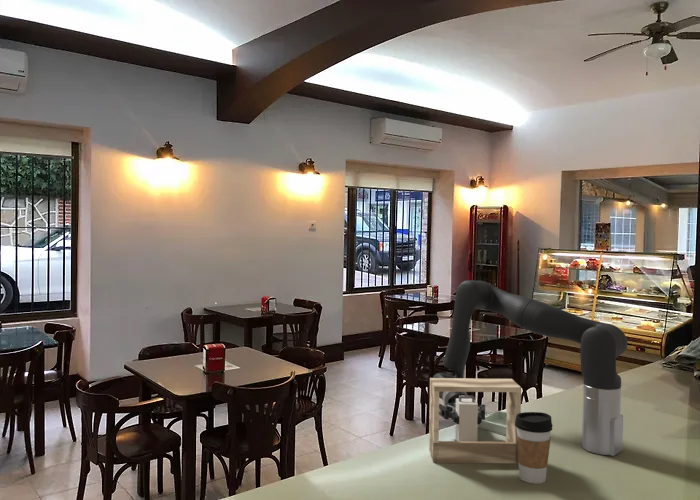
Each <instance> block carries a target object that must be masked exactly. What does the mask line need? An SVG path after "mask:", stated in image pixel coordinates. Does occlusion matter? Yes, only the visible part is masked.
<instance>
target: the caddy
mask: <svg viewBox="0 0 700 500" xmlns="http://www.w3.org/2000/svg"><path fill="white" fill-rule="evenodd" d="M461 398H470V399H461ZM478 407H479V404H478V402H477V401H476V397H475V396H474V395H468V396H459V398H456V412H457V414H458V416H459V424H456V423H455V427H454V428H455V429H454V430H455V431H454V438H455V441H478V424H477V418H478Z"/></svg>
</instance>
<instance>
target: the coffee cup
mask: <svg viewBox="0 0 700 500" xmlns="http://www.w3.org/2000/svg"><path fill="white" fill-rule="evenodd" d="M552 422H553V421H552V415H550V414H548V413H547V412H546V413H545V412H537V411H524V412H521V413H519V414H517V415H516V420H515V426H516V427H517V433H516V438H517V451H518V462H519V463H518V476H519V479H520V480H522V481H523V482H525V483H529V484H534V485H535V484H536V485H537V484H543V483H545V482H546V479H547V472H548V471H547V469H548V464H549V463H548V462H549V457H550V456H549V454H550V448H551V447H550V446H551V445H550V444H551V437H552V436H551V431H553V426H554V425H553V423H552Z"/></svg>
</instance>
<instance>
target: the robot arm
mask: <svg viewBox="0 0 700 500" xmlns="http://www.w3.org/2000/svg"><path fill="white" fill-rule="evenodd" d="M453 307H454V309H453V315H452V321H451V322H452V323H451V330H450V334H449V340H448V343H447V345H446V346H447V347H446V350H445V353H444V357H443V361H442V362H443V363H442V364H443V366H444V367H445V368H446V369H448V370H450V371H452V372H453V373H455V375H451V374H447V373H443V372H438V373H435V374H434V375H433V377H432V378H465V377H464V376H465V375H464V374H465V368H466V363H467V360H468V356H469V352H470V349H471V338H470V335H471V334H470V324H471V320H472V316H473V314H474V311H475V310H484V311H489V312H492V313H496V314H498V315H501V316H503V317H504V318H506V319H508V320H509V321H510V322H511V323H513V324H514V325H516V326H517V327H519V328H521V329H523V330H526V331H528V332H531V333H534V334H536V335H539V336H544V337H549V338H554V339H561V340H568V341H571V342H575V343H578V344H580V347H579V348H580V352H579V353H580V357H579V359H580V373H581V375H582V378H583V379H582V380H583V381H582V382H583V385H582V386H583V387H582V388H583V389H582V391H583V392H582V423H581V424H582V425H581V426H582V428H581V447H582V449H584V450H585V451H588V452H590V453H592V454H597V455H602V456H603V455H605V456H611V457H616V455H618V454H619V453H620V452H622V451H623V444H624V443H623V442H624V441H623V440H624V439H623V438H624V435H623V434H624V415H623V414H621V412H622V411H621V410H622V409H621V408H622V407H621V406H622V401H621V400H622V398H621V397H622V378H621V376H620V375H619V374H618V372H617V358H618V357H619V356H621V355H622V354H623V353H625V351H626V350H627V348H628V338H627V336H626V334H625V332H624V331H623V330H622V329H621V328H619V327H618V326H616V325H614V324H611V323H607V322H601V321H597V320H593V319H590V318H586V317H581V316H579V315H576V314H573V313H571V312H568V311H566V310H564V309H562V308H558V307H556V306H553V305H550V304H547V303H545V302H542V301H539V300H537V299H533V298H531V297H527V296H523V295H519V294H514V293H510V292H507V291H505V290H503V289H500V288H499V287H497V286H494V285H493V284H490V283H488V282H486V281H483V280H472V279H469V280H464V281H462V282H461V283H460V284H459V285H458V286H457V289H456V293H455V300H454V306H453ZM459 396H469V395H468V392H440V391H439V399H441V400H442V401H443V404H440V403H439V416H441V417H442V418H443V419H444V420H445V421H446V420H451V421H452V422H453V423H456V424H459V416H458V414H457V412H456V398H459ZM461 399H471V398H461ZM485 416H486V404H484V403H482V404H480V405H478V418H477V424H480V423H482V420H485Z"/></svg>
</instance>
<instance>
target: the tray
mask: <svg viewBox="0 0 700 500" xmlns="http://www.w3.org/2000/svg"><path fill="white" fill-rule="evenodd" d="M506 425H507V411H506V412H505V411H502V410H496V411H494V412H492V413H489V414H487V415H485V420H482V423H480V424H478V428H479V429H482V430H484V431H487V432H488V431H489V432H492V433H496V434H497V435H503V436H504V437H506ZM478 428H477V429H478Z"/></svg>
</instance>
